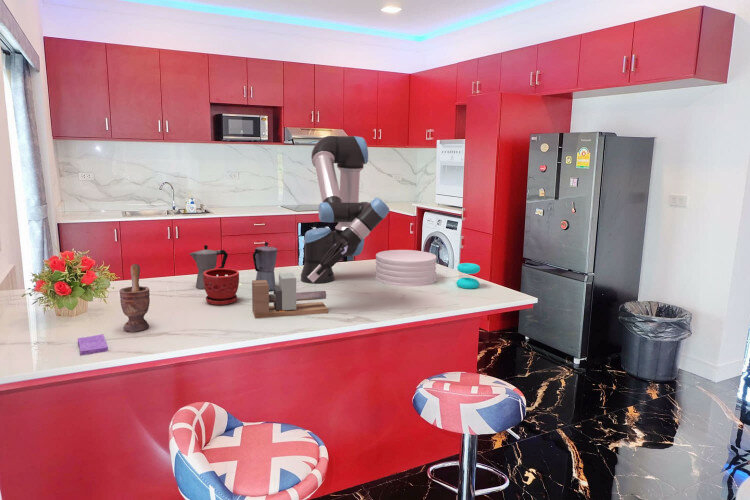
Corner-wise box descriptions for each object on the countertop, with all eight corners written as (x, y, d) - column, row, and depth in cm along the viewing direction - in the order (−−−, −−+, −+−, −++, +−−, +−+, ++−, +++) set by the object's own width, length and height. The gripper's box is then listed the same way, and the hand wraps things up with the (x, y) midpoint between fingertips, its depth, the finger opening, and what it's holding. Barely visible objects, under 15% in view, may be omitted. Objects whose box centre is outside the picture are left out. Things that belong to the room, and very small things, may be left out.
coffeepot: (191, 290, 214) (189, 247, 211) (190, 285, 223) (188, 244, 219) (230, 287, 220) (228, 246, 217) (227, 282, 229) (226, 242, 225)
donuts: (464, 261, 237) (484, 264, 231) (462, 282, 238) (482, 286, 232) (453, 264, 229) (473, 268, 223) (452, 286, 230) (472, 290, 225)
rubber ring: (273, 304, 190) (273, 286, 189) (279, 304, 191) (279, 286, 189) (276, 310, 184) (276, 291, 182) (282, 309, 184) (281, 290, 183)
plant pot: (196, 304, 196) (195, 273, 194) (219, 295, 208) (218, 266, 206) (225, 308, 191) (224, 276, 189) (246, 299, 203) (246, 269, 201)
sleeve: (279, 304, 191) (278, 273, 189) (292, 303, 193) (292, 273, 191) (282, 310, 184) (281, 278, 182) (296, 309, 185) (296, 278, 183)
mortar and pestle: (116, 324, 171) (112, 265, 167) (144, 320, 176) (140, 262, 173) (126, 334, 162) (122, 272, 158) (155, 329, 168) (151, 268, 164)
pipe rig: (252, 310, 189) (251, 280, 187) (322, 305, 197) (322, 276, 195) (254, 318, 181) (254, 286, 179) (327, 312, 189) (328, 282, 187)
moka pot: (284, 286, 225) (283, 240, 221) (265, 295, 210) (264, 246, 207) (264, 284, 228) (264, 239, 224) (245, 292, 213) (244, 244, 210)
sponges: (80, 357, 145) (80, 350, 145) (77, 343, 155) (77, 337, 155) (108, 352, 149) (108, 346, 149) (103, 339, 159) (103, 333, 159)
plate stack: (445, 278, 247) (446, 254, 245) (417, 290, 224) (418, 264, 222) (394, 270, 262) (395, 247, 260) (363, 280, 239) (364, 256, 237)
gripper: (366, 243, 186) (321, 291, 184) (357, 237, 198) (314, 282, 197) (352, 229, 184) (306, 277, 182) (343, 223, 196) (300, 269, 194)
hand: (310, 279), depth 189 cm, fingers closed
